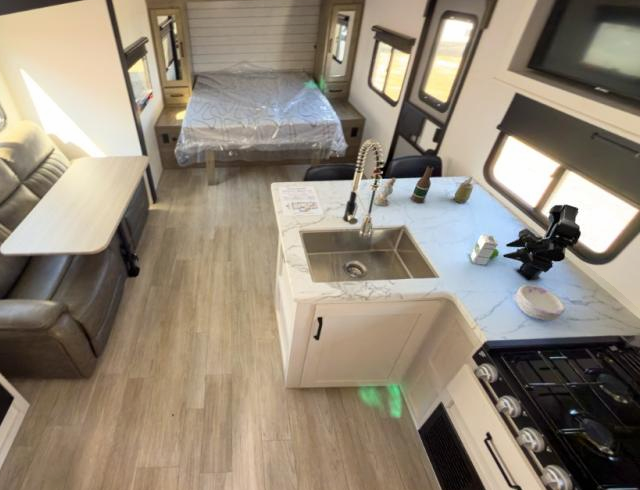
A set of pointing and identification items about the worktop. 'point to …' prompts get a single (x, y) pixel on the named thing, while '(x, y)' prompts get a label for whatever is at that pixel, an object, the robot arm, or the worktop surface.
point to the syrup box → (483, 249)
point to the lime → (494, 254)
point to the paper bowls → (539, 302)
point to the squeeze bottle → (464, 191)
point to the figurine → (385, 192)
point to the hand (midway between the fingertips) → (504, 250)
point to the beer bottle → (422, 186)
